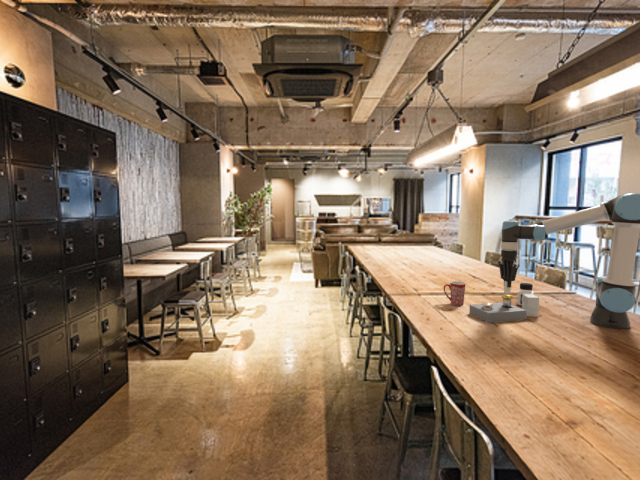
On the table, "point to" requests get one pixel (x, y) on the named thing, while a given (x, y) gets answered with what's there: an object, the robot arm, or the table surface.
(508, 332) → the table surface
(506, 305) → the gold lidded glass jar
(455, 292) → the mug
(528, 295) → the small box
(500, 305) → the block
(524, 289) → the container
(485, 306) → the plug cream
